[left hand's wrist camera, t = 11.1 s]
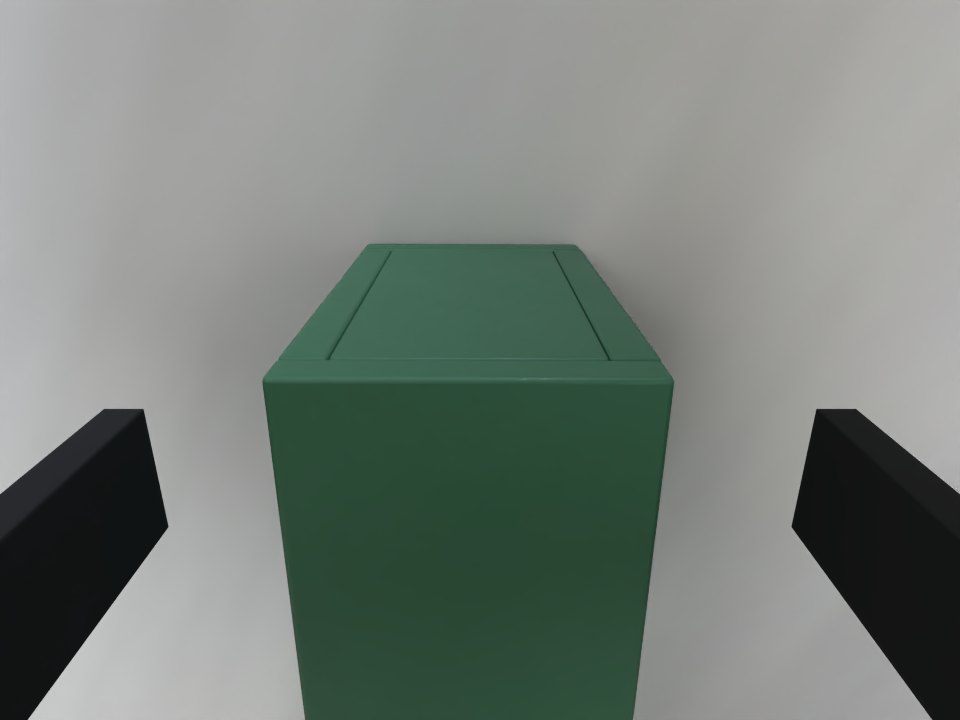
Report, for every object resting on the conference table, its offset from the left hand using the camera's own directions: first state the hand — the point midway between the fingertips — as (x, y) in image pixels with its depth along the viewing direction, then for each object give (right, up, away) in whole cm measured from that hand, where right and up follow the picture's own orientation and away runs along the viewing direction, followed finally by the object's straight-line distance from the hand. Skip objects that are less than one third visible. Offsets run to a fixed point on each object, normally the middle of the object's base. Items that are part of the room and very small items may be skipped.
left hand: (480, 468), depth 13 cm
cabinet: (0, -3, +9) cm, 9 cm away
